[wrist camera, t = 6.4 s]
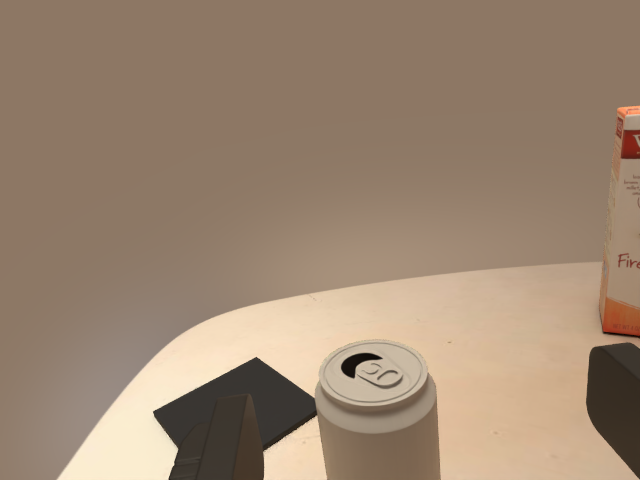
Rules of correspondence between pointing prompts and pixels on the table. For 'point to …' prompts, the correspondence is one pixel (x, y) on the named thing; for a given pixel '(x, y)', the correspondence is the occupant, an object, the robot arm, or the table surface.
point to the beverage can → (378, 413)
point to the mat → (249, 378)
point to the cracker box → (623, 231)
